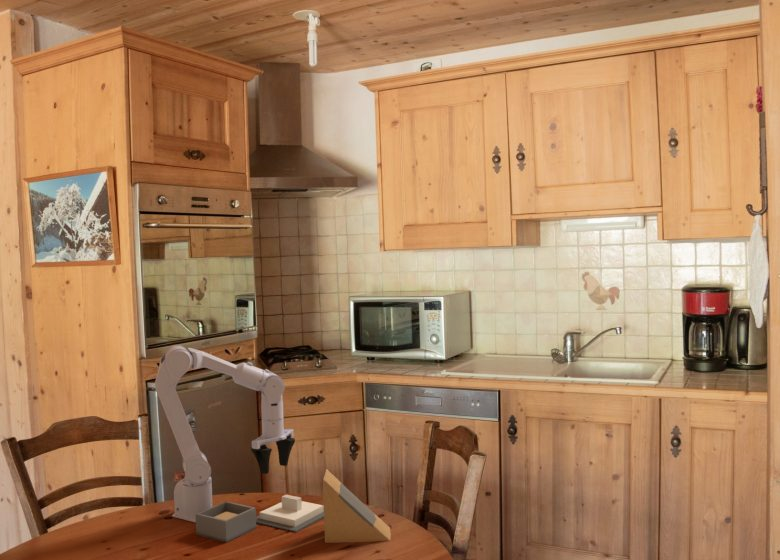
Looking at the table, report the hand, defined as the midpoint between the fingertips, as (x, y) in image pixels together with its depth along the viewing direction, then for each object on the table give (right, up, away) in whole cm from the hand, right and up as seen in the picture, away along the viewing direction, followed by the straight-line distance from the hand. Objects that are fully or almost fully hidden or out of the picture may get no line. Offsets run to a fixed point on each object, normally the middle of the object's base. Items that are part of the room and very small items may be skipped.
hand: (274, 469), depth 188 cm
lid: (+6, -9, -9) cm, 14 cm away
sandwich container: (+23, -10, -22) cm, 34 cm away
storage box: (-9, -10, -18) cm, 22 cm away
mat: (+6, -10, -9) cm, 15 cm away
